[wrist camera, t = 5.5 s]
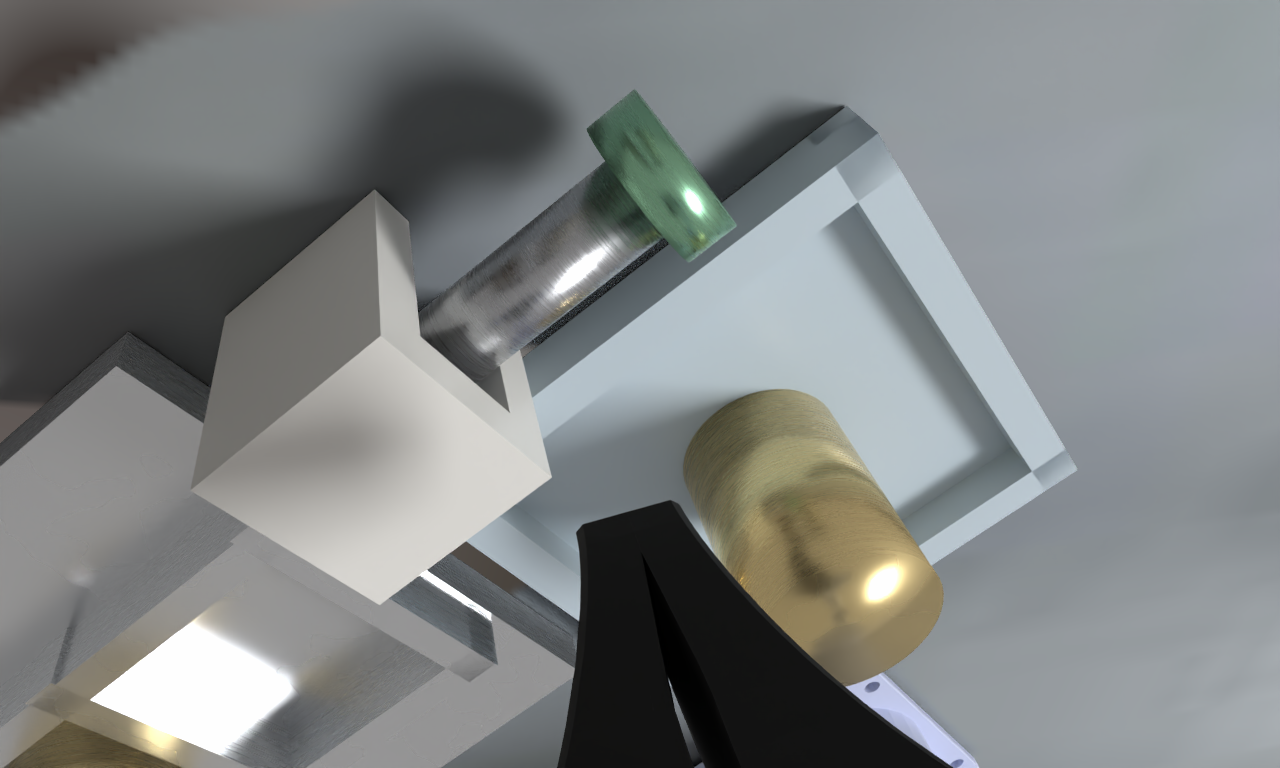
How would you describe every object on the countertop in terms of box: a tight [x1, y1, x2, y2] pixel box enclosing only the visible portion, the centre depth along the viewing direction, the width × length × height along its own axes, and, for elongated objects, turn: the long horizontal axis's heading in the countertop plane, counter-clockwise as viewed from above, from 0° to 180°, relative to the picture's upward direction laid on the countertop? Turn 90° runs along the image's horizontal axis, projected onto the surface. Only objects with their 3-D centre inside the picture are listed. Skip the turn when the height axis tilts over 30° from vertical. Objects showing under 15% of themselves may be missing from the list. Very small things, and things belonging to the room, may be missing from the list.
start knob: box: [418, 89, 737, 384], centre depth 17 cm, size 3×7×3 cm, turn 126°
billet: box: [683, 389, 944, 687], centre depth 22 cm, size 4×4×6 cm
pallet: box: [0, 332, 576, 768], centre depth 23 cm, size 14×13×3 cm
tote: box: [466, 106, 1078, 687], centre depth 24 cm, size 12×12×2 cm
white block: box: [190, 189, 552, 605], centre depth 18 cm, size 4×4×5 cm
